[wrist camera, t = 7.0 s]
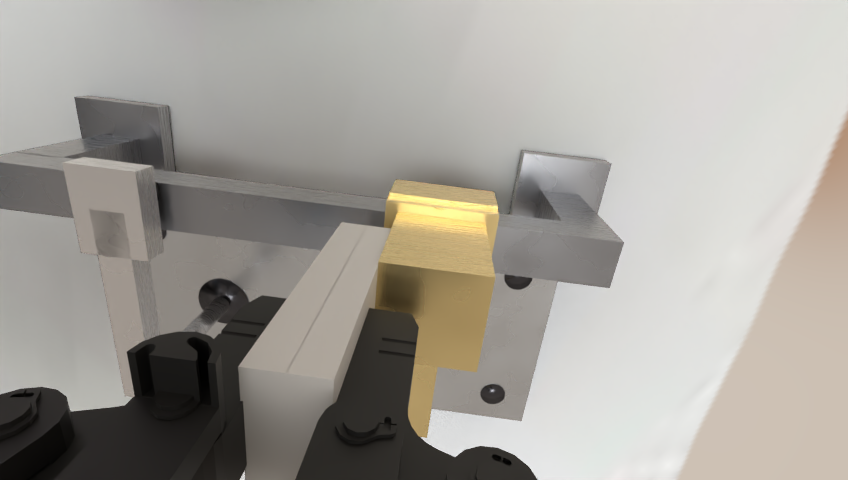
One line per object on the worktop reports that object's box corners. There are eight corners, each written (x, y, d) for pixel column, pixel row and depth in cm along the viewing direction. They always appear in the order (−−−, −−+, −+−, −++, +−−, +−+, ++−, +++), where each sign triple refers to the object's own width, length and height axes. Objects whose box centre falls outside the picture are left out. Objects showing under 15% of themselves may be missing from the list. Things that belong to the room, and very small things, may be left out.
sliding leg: (390, 334, 24) (344, 523, 14) (407, 156, 20) (362, 244, 10) (456, 342, 24) (457, 538, 14) (486, 166, 20) (515, 264, 10)
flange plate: (150, 358, 27) (139, 369, 26) (123, 187, 23) (108, 193, 22) (519, 408, 27) (521, 421, 26) (560, 244, 22) (565, 252, 21)
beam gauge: (120, 284, 25) (-19, 376, 18) (87, 95, 21) (-111, 113, 14) (555, 342, 25) (598, 462, 17) (605, 160, 21) (689, 214, 13)
